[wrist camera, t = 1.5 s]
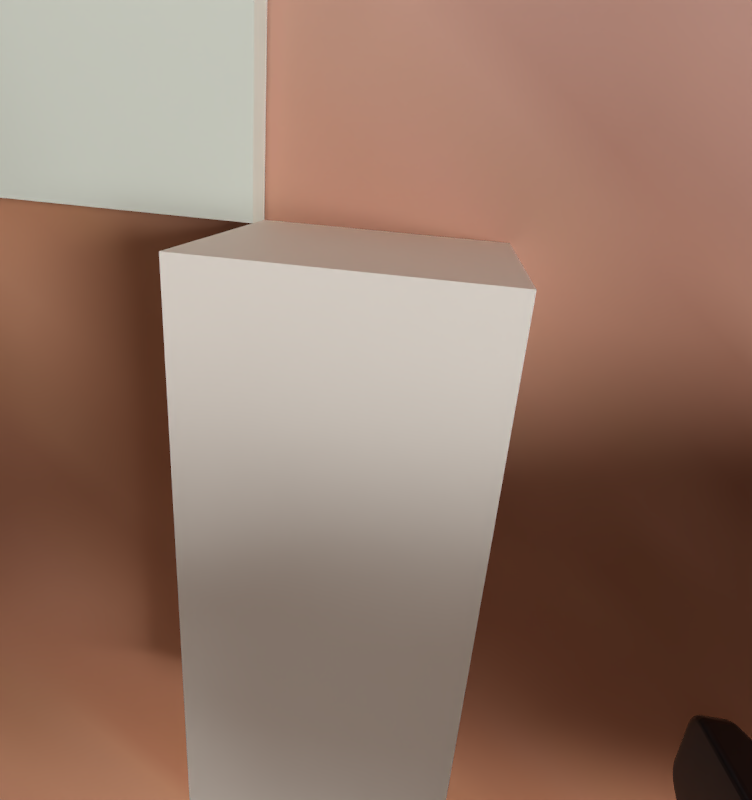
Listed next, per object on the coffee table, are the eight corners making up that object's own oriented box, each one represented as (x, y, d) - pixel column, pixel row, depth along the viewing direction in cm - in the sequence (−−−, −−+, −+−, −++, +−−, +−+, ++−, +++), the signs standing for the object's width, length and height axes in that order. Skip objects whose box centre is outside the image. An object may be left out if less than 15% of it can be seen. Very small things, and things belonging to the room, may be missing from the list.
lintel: (508, 241, 10) (535, 290, 6) (437, 698, 14) (428, 898, 10) (268, 219, 10) (158, 250, 7) (264, 669, 14) (192, 852, 10)
